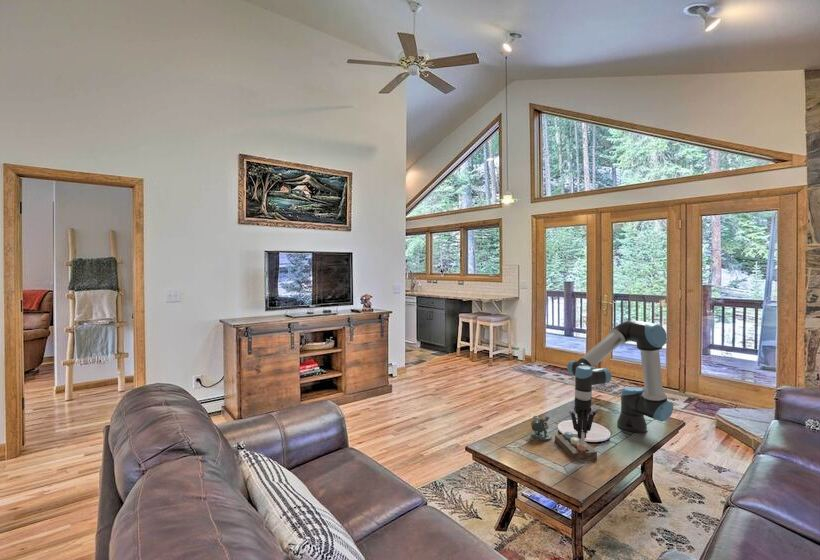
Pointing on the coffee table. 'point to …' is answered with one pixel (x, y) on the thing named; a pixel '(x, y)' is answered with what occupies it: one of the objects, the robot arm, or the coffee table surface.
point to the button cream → (574, 441)
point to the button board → (575, 449)
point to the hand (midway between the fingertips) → (581, 444)
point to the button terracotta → (581, 448)
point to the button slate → (568, 435)
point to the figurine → (540, 429)
